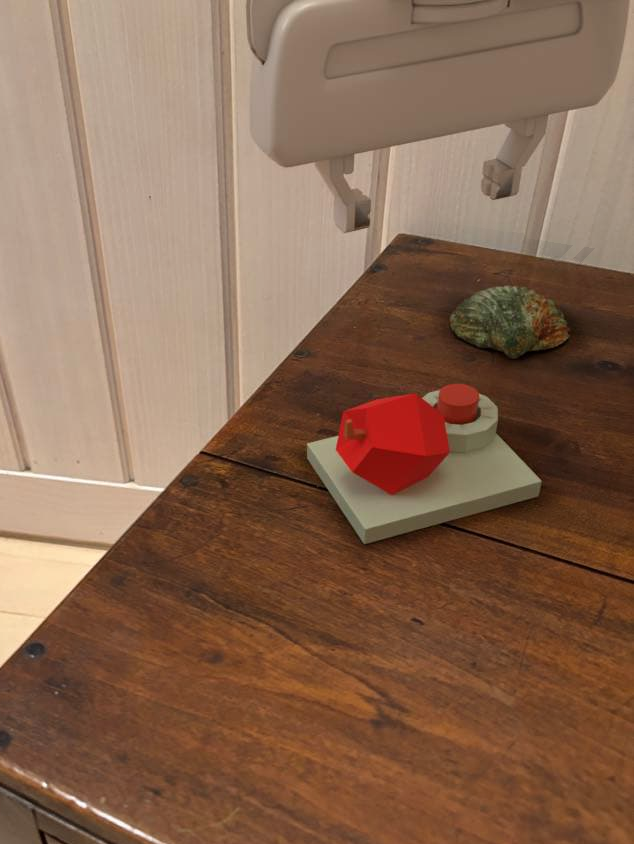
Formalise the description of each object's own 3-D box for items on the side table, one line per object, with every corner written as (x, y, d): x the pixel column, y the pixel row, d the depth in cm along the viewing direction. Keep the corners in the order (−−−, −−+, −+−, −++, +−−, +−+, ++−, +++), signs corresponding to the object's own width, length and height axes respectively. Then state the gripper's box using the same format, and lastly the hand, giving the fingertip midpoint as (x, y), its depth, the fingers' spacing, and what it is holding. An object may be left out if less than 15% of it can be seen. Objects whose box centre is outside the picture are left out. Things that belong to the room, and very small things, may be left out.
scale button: (464, 400, 67) (467, 379, 66) (483, 420, 65) (487, 400, 64) (429, 408, 67) (431, 388, 65) (448, 429, 65) (450, 409, 63)
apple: (444, 369, 63) (345, 356, 59) (486, 440, 59) (383, 431, 55) (396, 441, 68) (301, 433, 64) (432, 511, 64) (334, 506, 60)
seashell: (574, 259, 79) (577, 318, 72) (568, 303, 82) (571, 363, 74) (454, 261, 81) (445, 318, 74) (452, 303, 84) (444, 362, 77)
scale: (467, 415, 70) (472, 381, 68) (543, 495, 63) (551, 460, 61) (304, 455, 68) (304, 422, 66) (364, 545, 60) (366, 510, 58)
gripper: (268, -28, 40) (278, 271, 49) (672, -92, 44) (610, 196, 53) (221, -53, 44) (238, 225, 53) (592, -109, 48) (547, 159, 57)
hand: (426, 210), depth 53 cm, fingers open, 8 cm apart
